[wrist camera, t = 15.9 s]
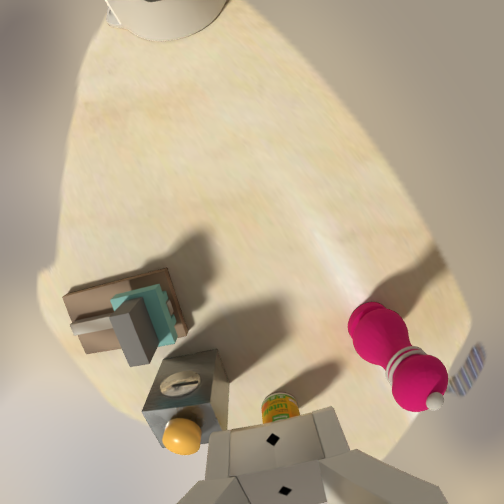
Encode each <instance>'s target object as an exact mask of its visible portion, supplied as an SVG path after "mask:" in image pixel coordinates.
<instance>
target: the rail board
mask: <svg viewBox="0 0 504 504" xmlns="http://www.w3.org/2000/svg"><path fill="white" fill-rule="evenodd" d="M156 284H160V287H161V290H162V292H163V291H166V293H167V296H168V300H167V301H166V304H167V307H168V310H169V313H170V316H172V315H173V314H174V316H175V319H176V323H175V326H174V327H175V330H176V332H177V335H178V337H177V338H179V337H184V336H187V333H188V329H187V326H186V323H185V321H184V318H183V315H182V312H181V309H180V306H179V303H178V300H177V297H176V294H175V291H174V288H173V285H172V282H171V279H170V276H169V272H168V269H167V268H164V269H160V270H156V271H152V272H148V273H144V274H140V275H137V276H133V277H129V278H125V279H121V280H117V281H114V282H110V283H106V284H102V285H98V286H94V287H91V288H87V289H83V290H79V291H75V292H72V293H68V294H66V295H65V296H63V297H62V298H63V300H64V303H65V306H66V308H67V311H68V313H69V316H70V318H71V321H72V323H71V324H70V327H71V329H72V332H73V334H74V335H78V337H79V340H80V342H81V344H82V346H83V348H84V351H85V353H86V354H91V353H97V352H103V351H109V350H115V349H121V346H120V343H119V341H118V339H117V336H116V334H115V331H114V329H113V327H112V324H111V322H110V319H109V317H110V315H111V314H112V313H113V312H114V309H113V307H112V304H111V301H110V299H112V298H113V297H114V296H115V295H116V294H120V293H124V292H128V291H132V290H136V289H140V288H144V287H148V286H152V285H156Z"/></svg>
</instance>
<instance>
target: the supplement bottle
mask: <svg viewBox="0 0 504 504" xmlns="http://www.w3.org/2000/svg"><path fill="white" fill-rule="evenodd" d="M299 415H300V413H299V409H298V405H297V401H296V399H295V398H294V397H293V396H292V395H290V394H287V393H281V392H280V393H274V394H271V395H270V396H268V397H267V398H266V399H265V400H264V401H263V403H262V419H263V424H265V423H270V422H275V421H279V420H283V419H287V418H291V417H295V416H299Z"/></svg>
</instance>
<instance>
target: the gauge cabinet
mask: <svg viewBox="0 0 504 504" xmlns="http://www.w3.org/2000/svg"><path fill="white" fill-rule="evenodd" d="M228 402H229V381H228V378H227V375H226V373H225V370H224V367H223V364H222V361H221V358H220V356H219V353H218V350H217V349H215V350H210V351H205V352H200V353H195V354H190V355H185V356H179V357H174V358H168V359H163V361H162V363H161V366H160V368H159V370H158V373H157V375H156V378H155V380H154V383H153V385H152V387H151V390H150V392H149V395H148V397H147V400H146V402H145V405H144V407H143V410H142V413H143V415H144V417H145V419H146V421H147V422H148V424H149V426H150V428H151V429H152V431H153V433H154V435H155V436H156V438H157V440H158V441H159V443H160V445H161V446H162V448H166V447H165V446H164V444H163V441H162V438H163V434H164V431H165V427H166V424H167V423H168V422H169V421H170V420H172V419H176V418H184V419H188V420H191V421H193V422H195V423H196V424H197V425H198V426H199V427H200V429H201V432H202V435H201V442H200V444H206V443H209V437H210V435H211V433H212V432H217V431H225V430H227V422H228Z"/></svg>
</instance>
